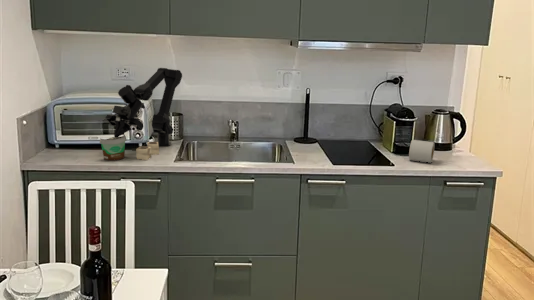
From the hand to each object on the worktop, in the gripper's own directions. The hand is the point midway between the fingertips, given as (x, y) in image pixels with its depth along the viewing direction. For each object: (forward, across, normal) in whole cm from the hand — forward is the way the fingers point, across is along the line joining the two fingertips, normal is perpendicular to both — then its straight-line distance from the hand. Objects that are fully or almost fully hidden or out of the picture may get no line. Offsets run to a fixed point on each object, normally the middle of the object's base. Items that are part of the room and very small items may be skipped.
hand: (115, 137), depth 234 cm
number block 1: (+1, +9, +14) cm, 16 cm away
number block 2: (-6, +6, +20) cm, 22 cm away
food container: (+7, 0, +8) cm, 11 cm away
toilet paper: (-50, +120, +62) cm, 143 cm away
